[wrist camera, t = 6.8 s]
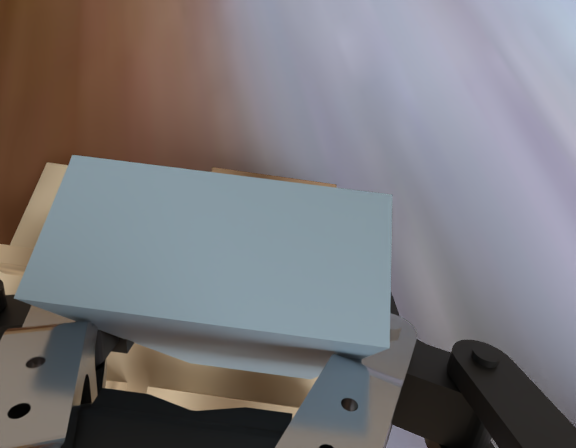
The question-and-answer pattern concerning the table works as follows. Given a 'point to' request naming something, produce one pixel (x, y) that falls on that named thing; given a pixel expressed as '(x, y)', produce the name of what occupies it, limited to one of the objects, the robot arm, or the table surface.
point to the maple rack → (147, 362)
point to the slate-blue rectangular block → (217, 265)
